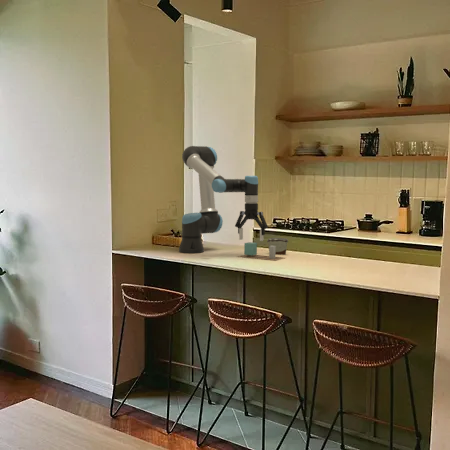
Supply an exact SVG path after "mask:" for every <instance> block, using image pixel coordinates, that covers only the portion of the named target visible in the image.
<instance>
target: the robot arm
mask: <svg viewBox="0 0 450 450" xmlns="http://www.w3.org/2000/svg"><path fill="white" fill-rule="evenodd" d="M181 155H182V156H181V158H182V159H181V160H182V161H183V162H182V163H184V165H185V166H186V167H188V168H189V169H193V170H194V171H195V172H196V173H197V174H198V181H199V182H198V184H199V194H200V195H199V197H200V207H201V209H200V210H199V212H189V213H185V214H183V216H182V217H181V242H180V244H179V247H178V252H179V253H184V254H200V253H204V252H205V247H204V244H203V241H202V235H203V234H214V233H218V232H219V231H220V230H221V229H222V227H223V224H224V223H223V222H224V221H223V217H222V215H221V214H219V211H218V209H216V203H215V202H216V200H215V193H218V194H219V193H220V194H221V193H244V202H245V203H244V210H240V211H239V215H238V218H237V220H236V222H235V225H234V227H236V228H237V234H238V235H239V236H238V237H239V238H238V240H239V241H240V240H244V234H243V233H244V228H243V227H244V225H245V223H246V222H247V221H248V220H254V221H255V222H256V224H257V225H258V226H259V228H260V229H259V242H263V241H264V236H265V235H266V229H268V228H269V226H268V223H267V221H266V219H265V217H264V212H263V211H258V210H259V204H258V202H259V177H258V176H257V175H245V176H244V178H234V179H233V178H225V177H223V176H222V175H221V174H220V173H218V172H217V171H216V170H215V169H214V168H215V165H216V163H217V161H218V155H217V151H216V150H215V149H214V148H213V147H211V146H205V145H204V146H203V145H202V146H201V145H200V146H199V145H197V146H196V145H190V146H187V147H186V148H184V150H183V152H182V154H181ZM244 215H245V216H244ZM258 216H259V217H258Z"/></svg>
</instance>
